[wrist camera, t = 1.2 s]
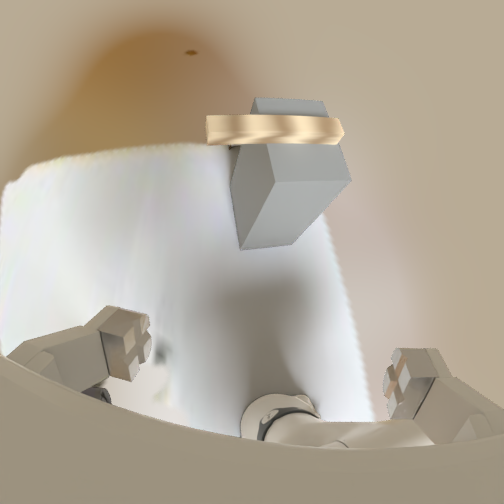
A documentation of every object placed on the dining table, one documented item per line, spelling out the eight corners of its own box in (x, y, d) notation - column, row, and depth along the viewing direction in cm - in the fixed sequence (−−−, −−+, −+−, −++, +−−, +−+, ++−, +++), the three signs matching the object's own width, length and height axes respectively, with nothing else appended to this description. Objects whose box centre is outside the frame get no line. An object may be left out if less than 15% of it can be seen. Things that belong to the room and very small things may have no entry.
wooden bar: (206, 145, 42) (208, 132, 39) (205, 129, 42) (206, 115, 40) (336, 144, 46) (344, 133, 43) (331, 129, 47) (338, 118, 44)
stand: (240, 250, 70) (275, 182, 42) (229, 186, 74) (254, 97, 46) (291, 244, 73) (351, 180, 45) (277, 183, 77) (322, 101, 49)
